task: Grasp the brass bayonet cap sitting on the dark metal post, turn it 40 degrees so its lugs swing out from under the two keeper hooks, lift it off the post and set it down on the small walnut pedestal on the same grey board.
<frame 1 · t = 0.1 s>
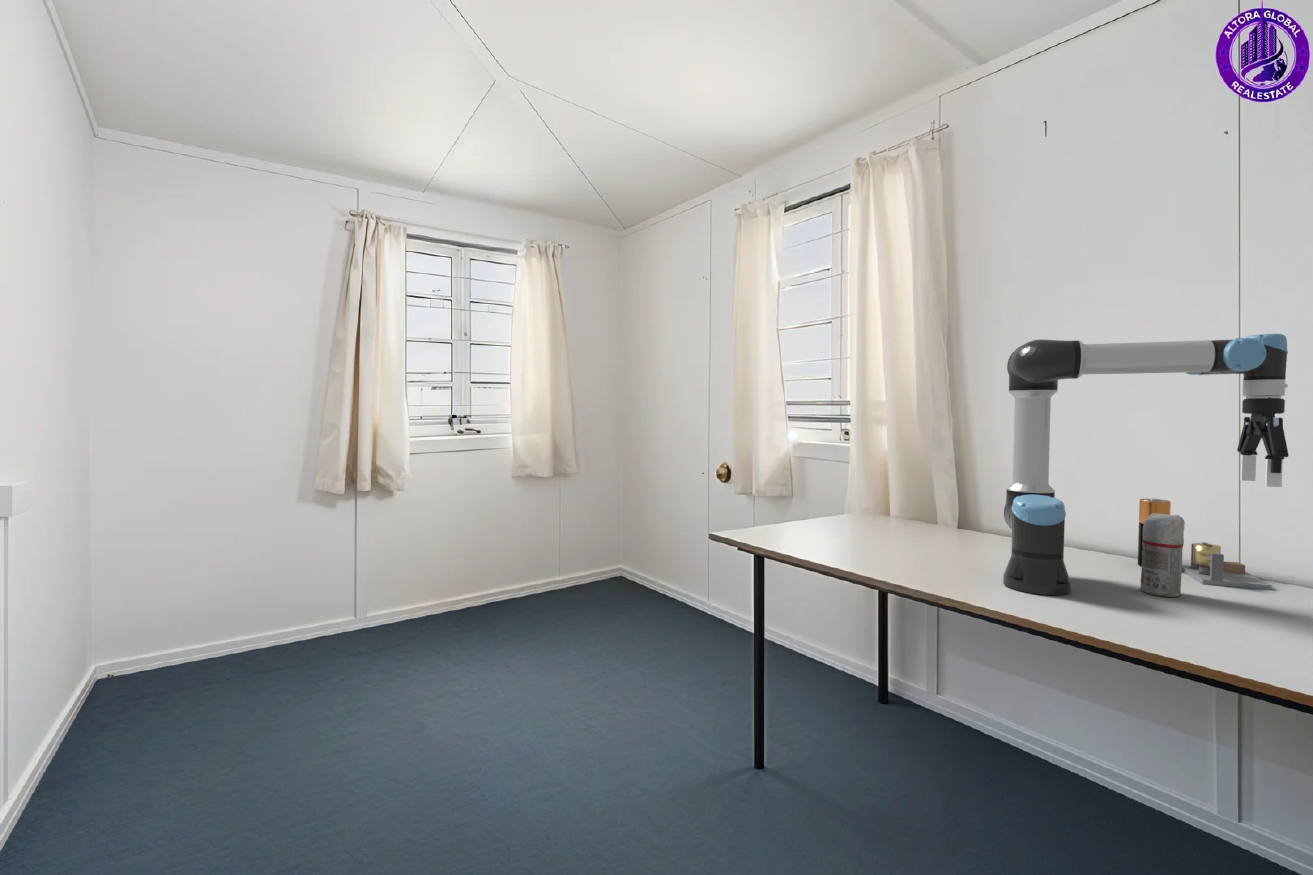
hand: (1260, 483, 155), 28 cm above the table, fingers open, 13 cm apart
base: (1222, 578, 171), on the table
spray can: (1160, 594, 158), on the table
battery: (1152, 567, 185), on the table
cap: (1206, 563, 171), point 4 cm above the table, touching base
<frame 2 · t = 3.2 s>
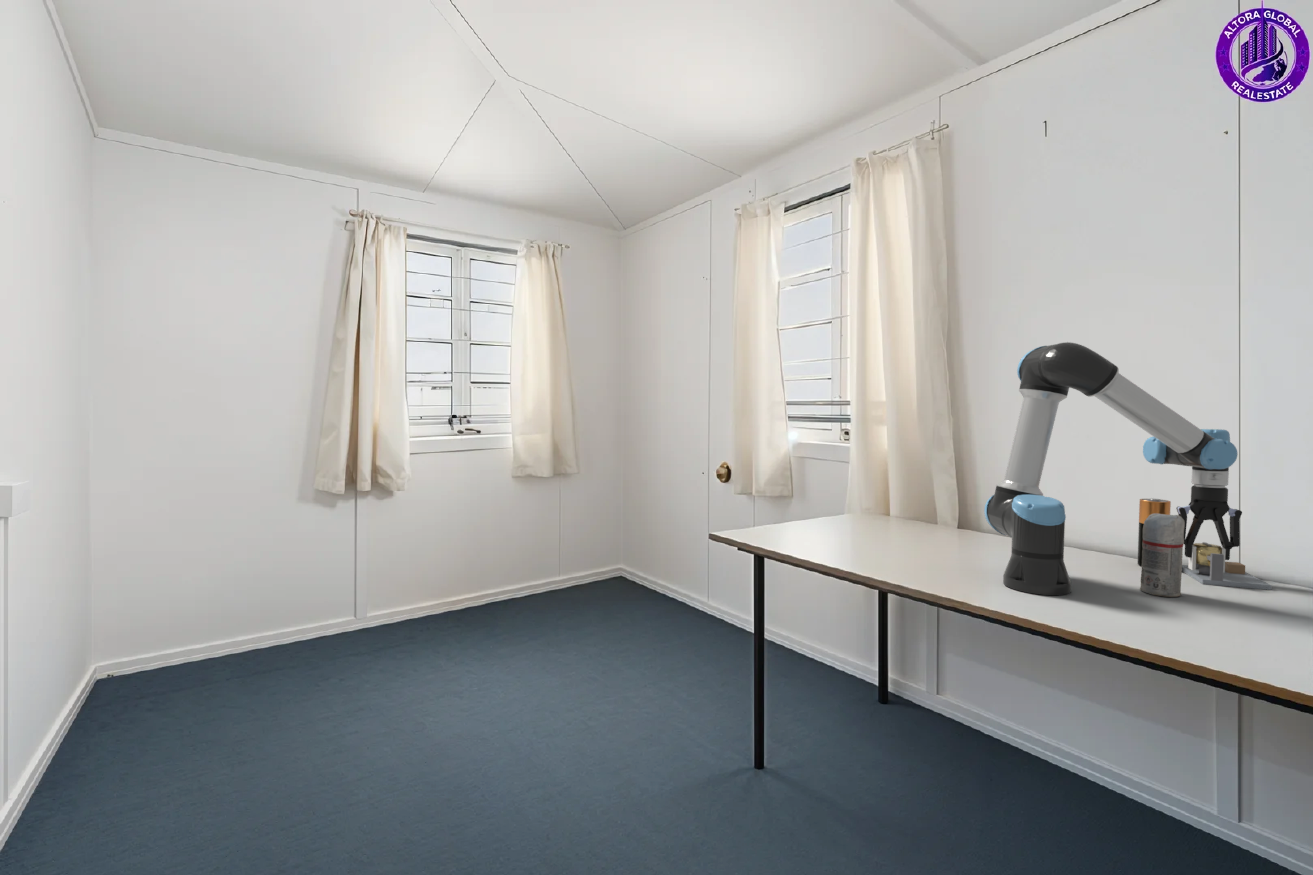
hand: (1206, 570, 172), 2 cm above the table, fingers closed on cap, 5 cm apart
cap: (1206, 563, 171), point 4 cm above the table, touching base, gripper
everything else where it was.
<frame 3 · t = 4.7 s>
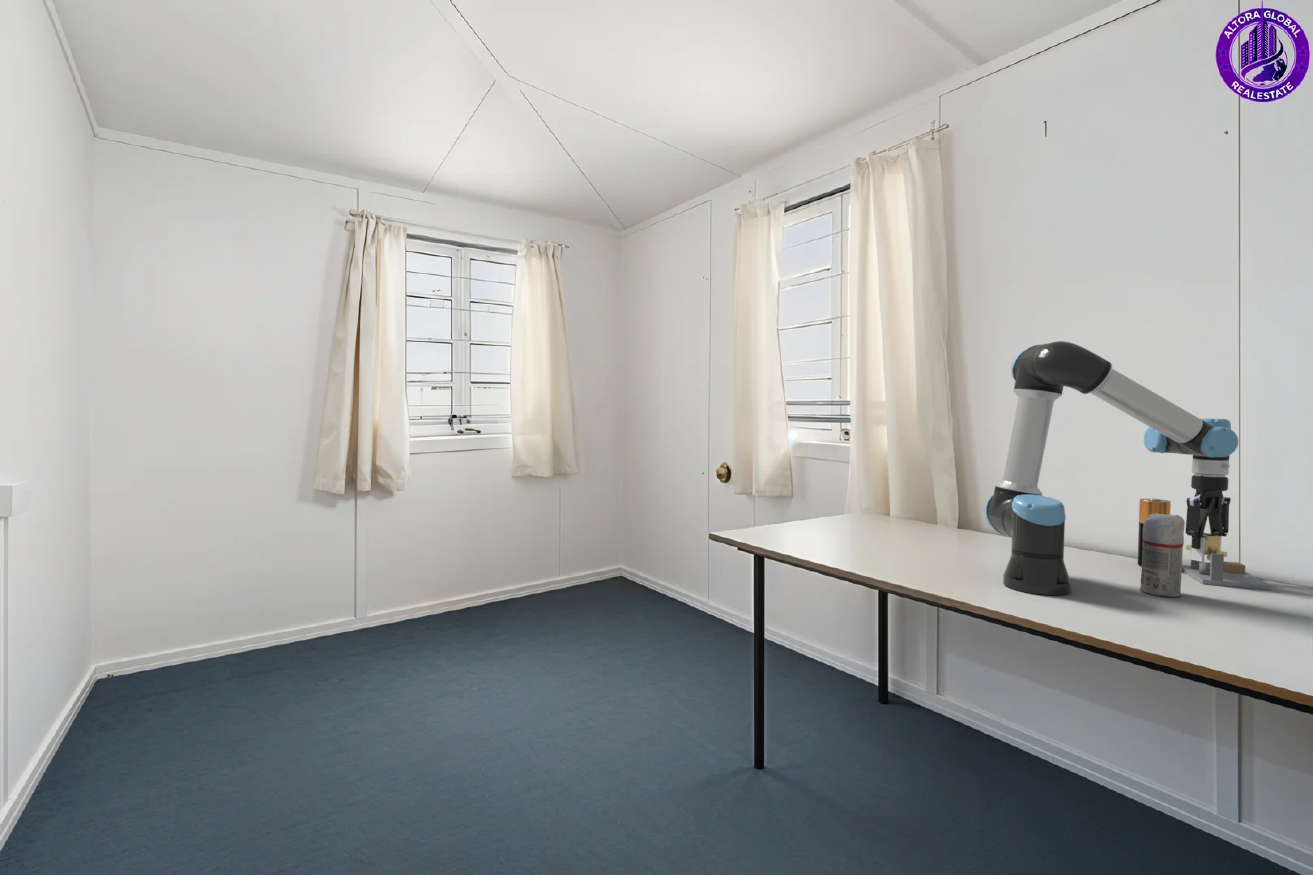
hand: (1205, 559, 171), 5 cm above the table, fingers closed on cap, 5 cm apart
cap: (1205, 553, 171), point 7 cm above the table, touching gripper
everything else where it was.
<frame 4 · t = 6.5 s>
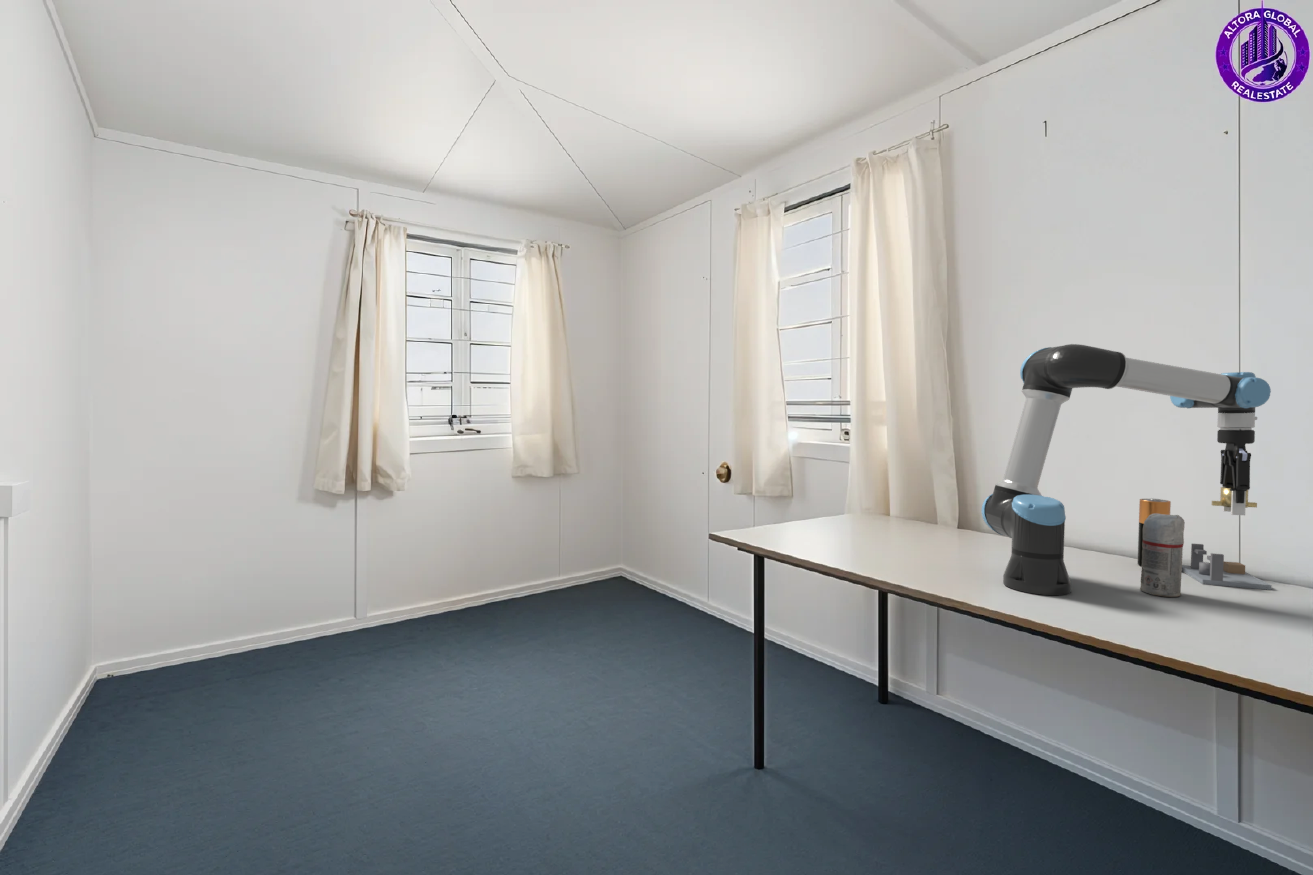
hand: (1233, 512, 173), 18 cm above the table, fingers closed on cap, 5 cm apart
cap: (1233, 506, 173), point 20 cm above the table, touching gripper
everything else where it was.
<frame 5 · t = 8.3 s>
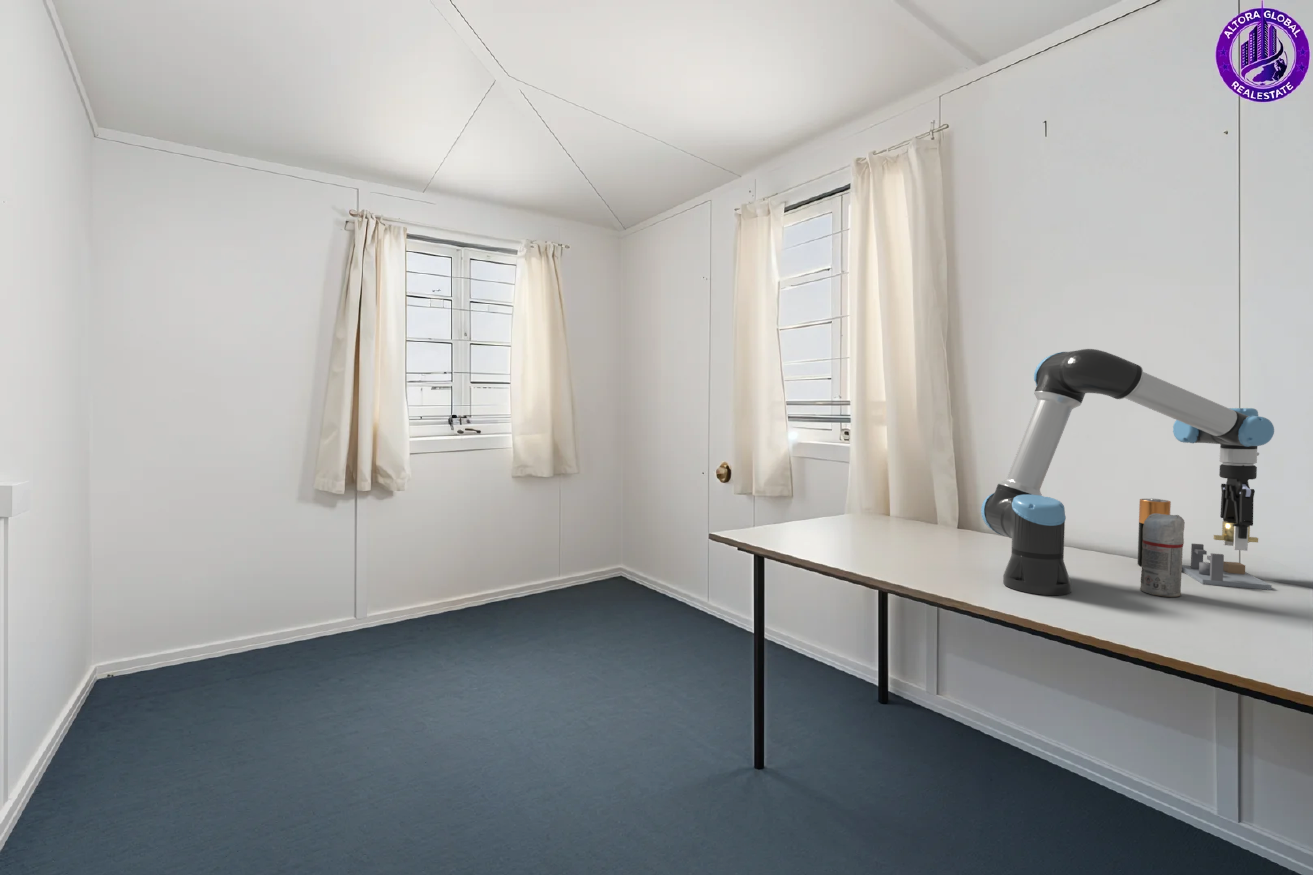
hand: (1235, 547, 174), 8 cm above the table, fingers closed on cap, 5 cm apart
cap: (1235, 540, 174), point 10 cm above the table, touching gripper
everything else where it was.
when the fingers open (2 cm above the table, at t = 9.7 s): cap stays where it is, resting on base.
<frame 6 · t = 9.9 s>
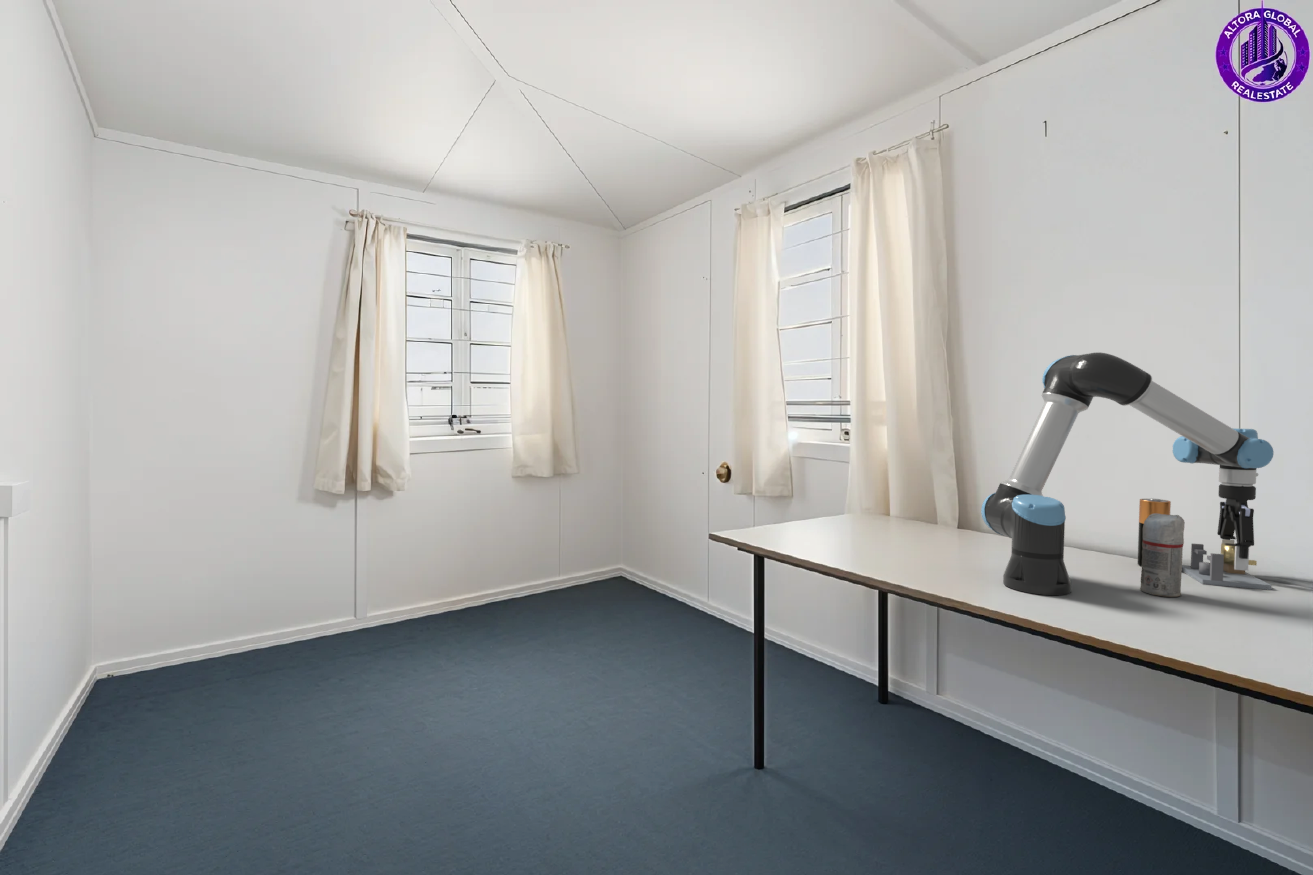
hand: (1233, 566, 174), 3 cm above the table, fingers open, 8 cm apart
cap: (1233, 563, 174), point 4 cm above the table, touching base
everything else where it was.
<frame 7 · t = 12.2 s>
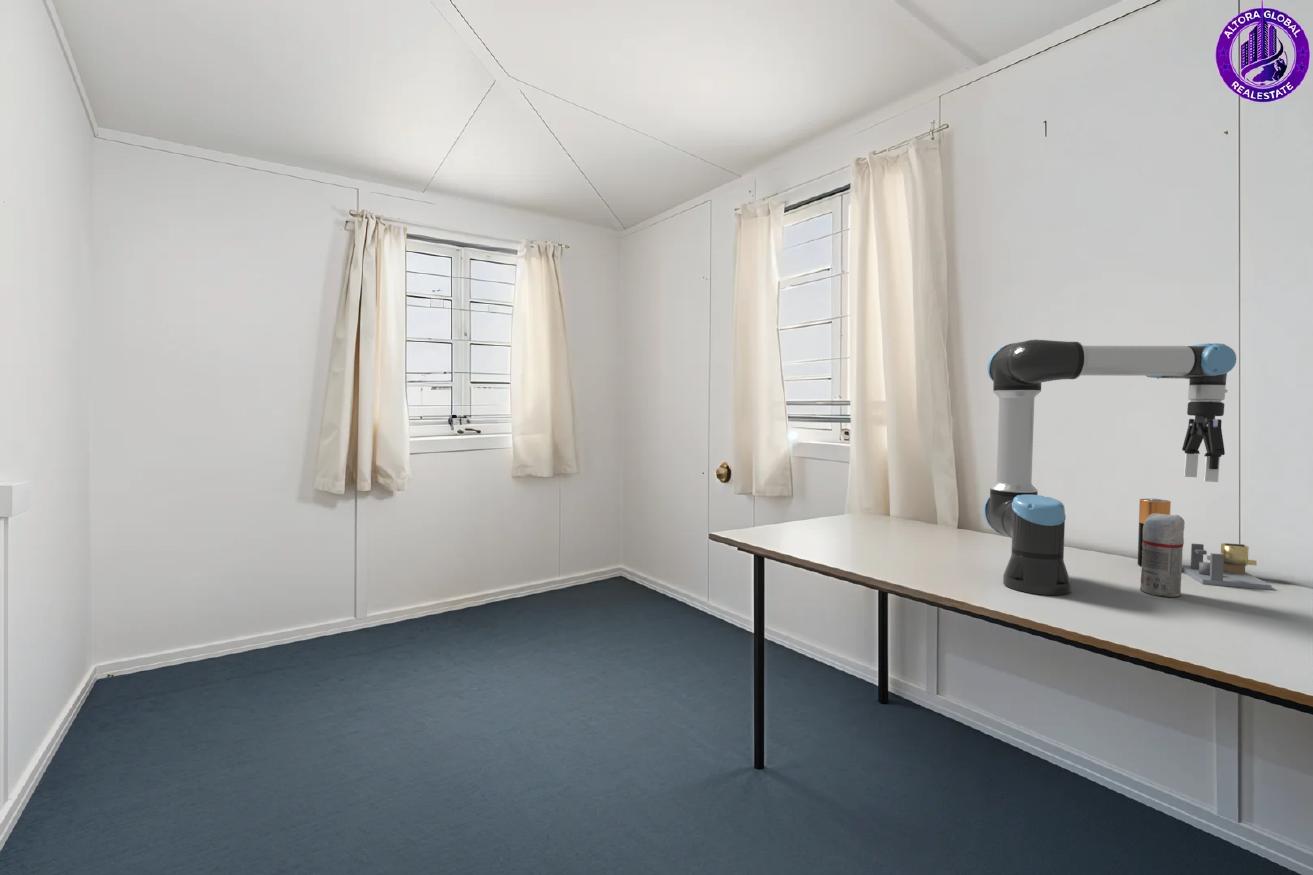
hand: (1200, 479, 171), 27 cm above the table, fingers open, 13 cm apart
nothing on the table moved.
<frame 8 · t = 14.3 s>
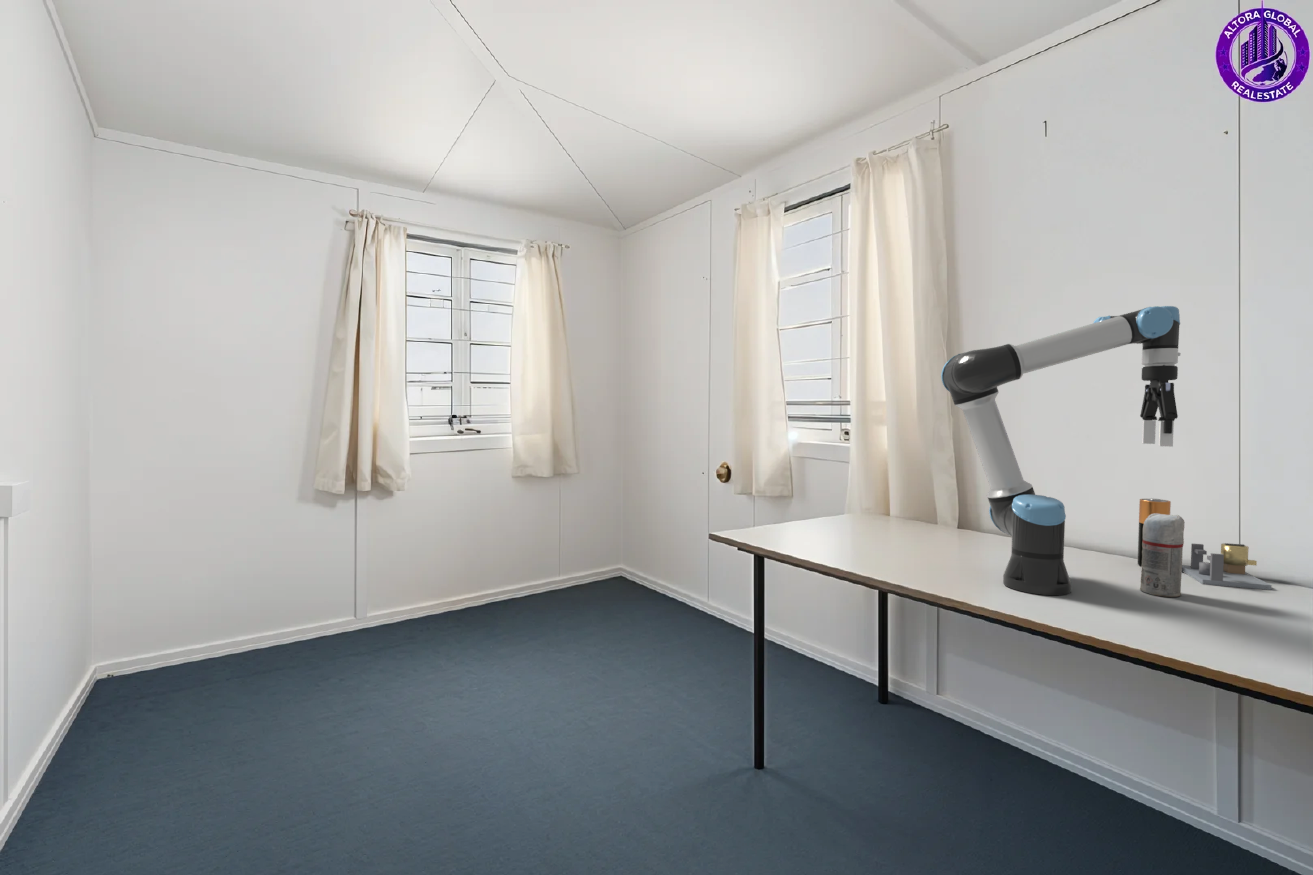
hand: (1156, 445, 169), 37 cm above the table, fingers open, 13 cm apart
nothing on the table moved.
at the end: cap 0.0 cm from the target spot on the base, point 3.6 cm above the base's base; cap tilted 0°; the gripper is holding nothing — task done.
